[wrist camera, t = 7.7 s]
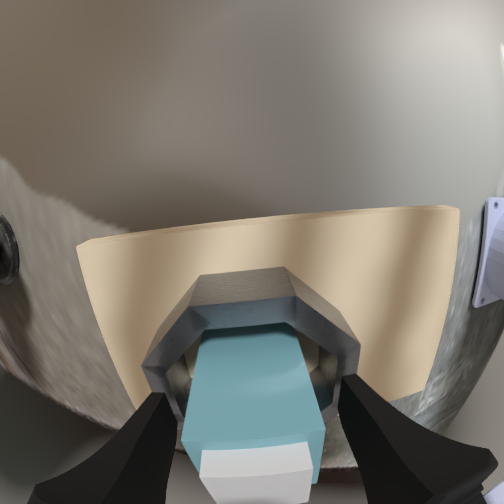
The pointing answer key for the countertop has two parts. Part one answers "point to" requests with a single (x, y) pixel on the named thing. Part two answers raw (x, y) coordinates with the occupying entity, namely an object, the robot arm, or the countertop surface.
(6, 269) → the salt shaker
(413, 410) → the countertop surface
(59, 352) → the countertop surface
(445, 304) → the holder dock
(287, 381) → the connector
